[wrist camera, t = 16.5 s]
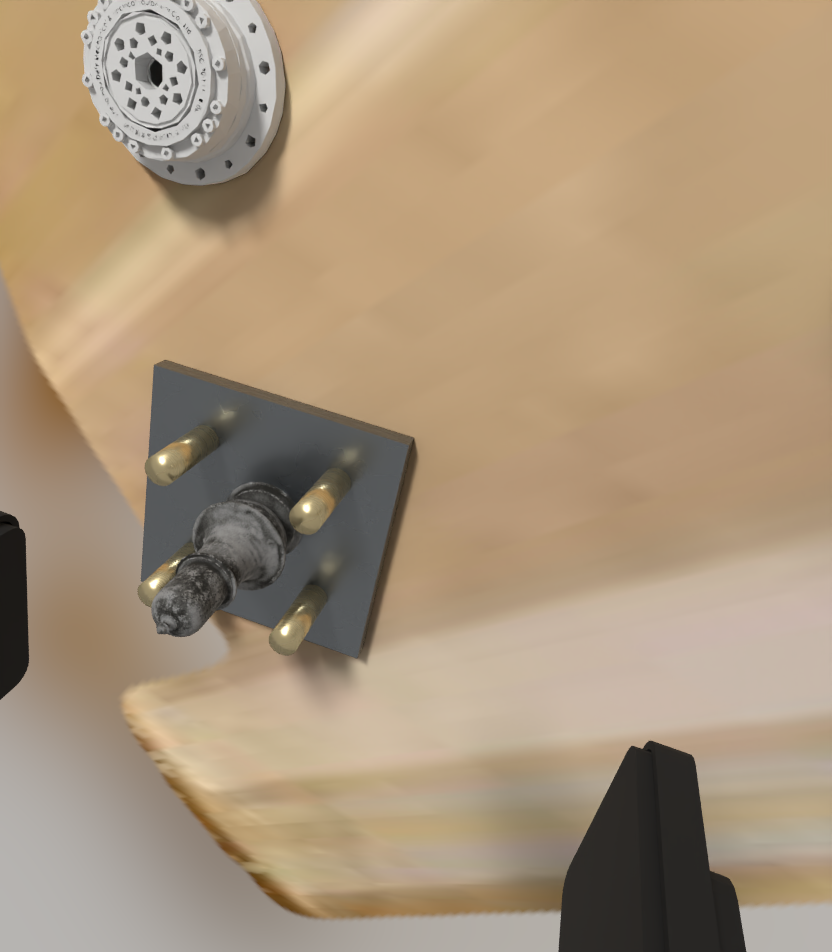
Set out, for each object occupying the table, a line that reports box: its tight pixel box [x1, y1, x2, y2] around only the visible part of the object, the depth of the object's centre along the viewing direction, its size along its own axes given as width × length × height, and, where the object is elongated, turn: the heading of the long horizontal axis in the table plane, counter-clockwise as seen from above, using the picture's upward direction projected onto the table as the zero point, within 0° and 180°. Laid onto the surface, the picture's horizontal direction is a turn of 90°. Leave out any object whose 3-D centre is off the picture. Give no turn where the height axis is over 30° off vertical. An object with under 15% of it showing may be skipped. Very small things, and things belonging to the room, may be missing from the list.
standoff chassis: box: [138, 360, 414, 658], centre depth 44 cm, size 16×16×6 cm
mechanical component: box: [81, 0, 286, 185], centre depth 35 cm, size 10×4×10 cm
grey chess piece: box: [152, 482, 303, 637], centre depth 40 cm, size 6×6×12 cm
